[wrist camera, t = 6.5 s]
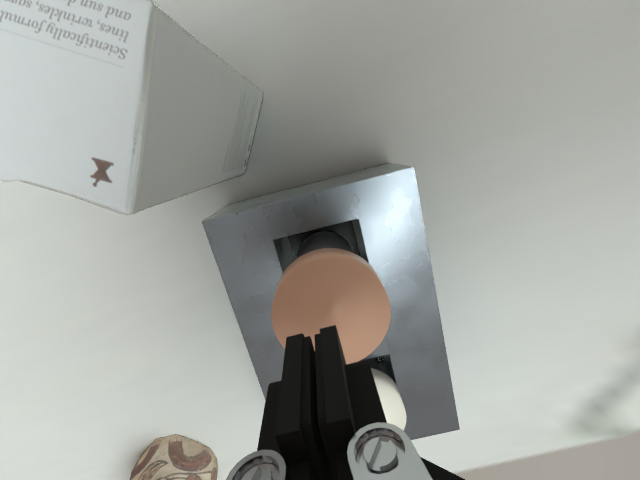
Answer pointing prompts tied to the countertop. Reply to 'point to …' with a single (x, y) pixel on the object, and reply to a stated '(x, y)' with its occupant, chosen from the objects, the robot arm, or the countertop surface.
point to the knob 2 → (388, 396)
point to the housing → (374, 246)
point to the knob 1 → (332, 297)
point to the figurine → (176, 461)
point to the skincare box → (117, 104)
